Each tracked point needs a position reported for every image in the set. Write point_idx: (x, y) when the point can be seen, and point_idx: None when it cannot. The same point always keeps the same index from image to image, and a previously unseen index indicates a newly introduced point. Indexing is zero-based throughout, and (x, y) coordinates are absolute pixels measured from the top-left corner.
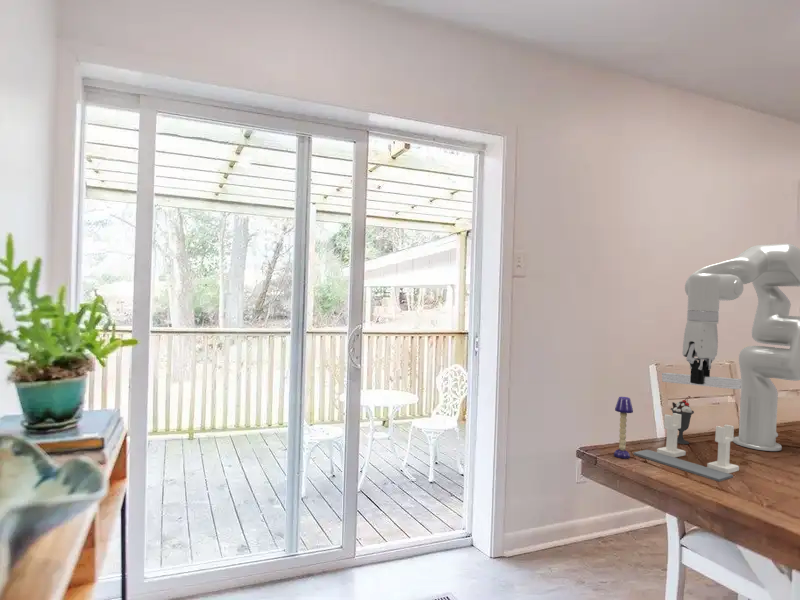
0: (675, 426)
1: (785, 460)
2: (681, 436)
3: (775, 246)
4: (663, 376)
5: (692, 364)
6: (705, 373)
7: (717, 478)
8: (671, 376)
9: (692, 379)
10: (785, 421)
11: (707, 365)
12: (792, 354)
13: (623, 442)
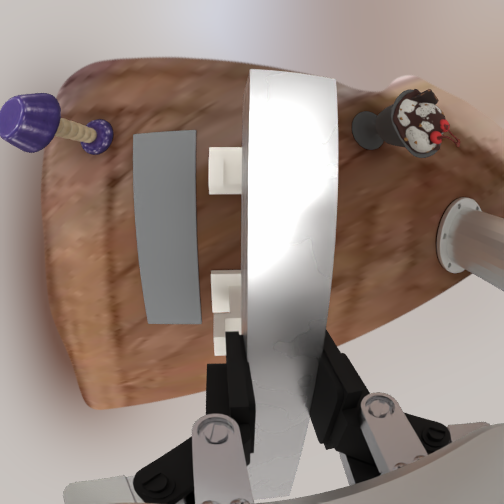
0: (240, 183)
1: (408, 303)
2: (374, 131)
3: None
4: (247, 93)
5: (172, 469)
6: (316, 416)
7: (148, 320)
8: (247, 167)
9: (207, 365)
10: None
11: (347, 462)
12: None
13: (77, 140)
